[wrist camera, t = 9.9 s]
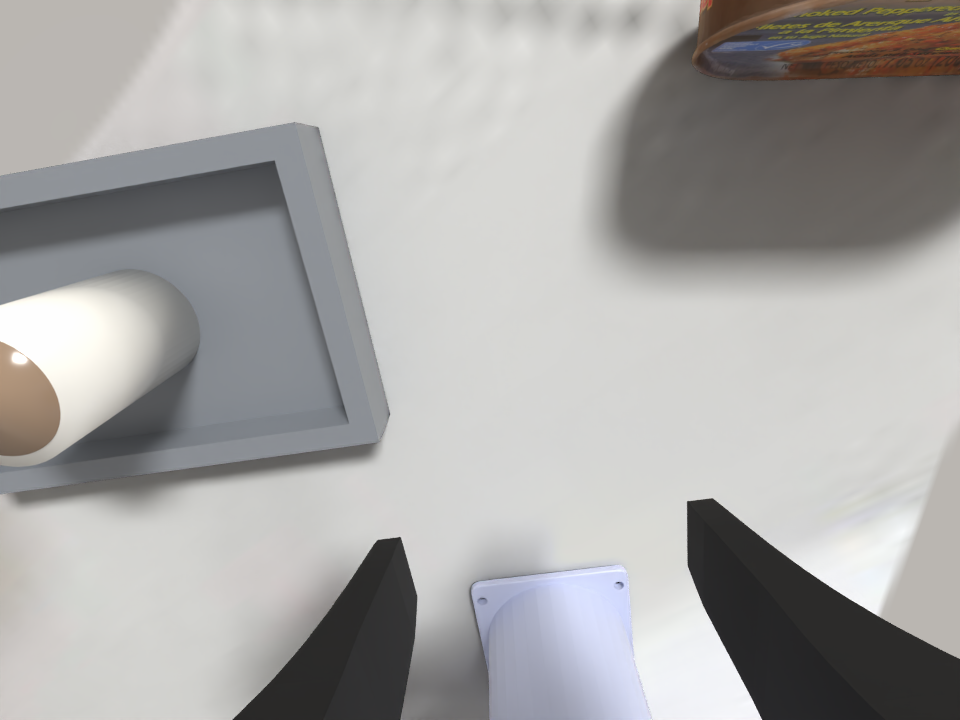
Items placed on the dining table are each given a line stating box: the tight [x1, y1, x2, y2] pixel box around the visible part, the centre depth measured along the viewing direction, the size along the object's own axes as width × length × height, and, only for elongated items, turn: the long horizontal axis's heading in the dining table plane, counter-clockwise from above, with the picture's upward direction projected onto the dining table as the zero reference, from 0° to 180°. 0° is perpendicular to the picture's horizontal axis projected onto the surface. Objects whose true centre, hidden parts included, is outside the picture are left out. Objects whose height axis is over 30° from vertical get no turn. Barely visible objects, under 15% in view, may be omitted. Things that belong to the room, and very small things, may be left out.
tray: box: [0, 122, 390, 494], centre depth 20 cm, size 12×18×2 cm, turn 99°
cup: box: [0, 269, 200, 467], centre depth 18 cm, size 5×5×7 cm
